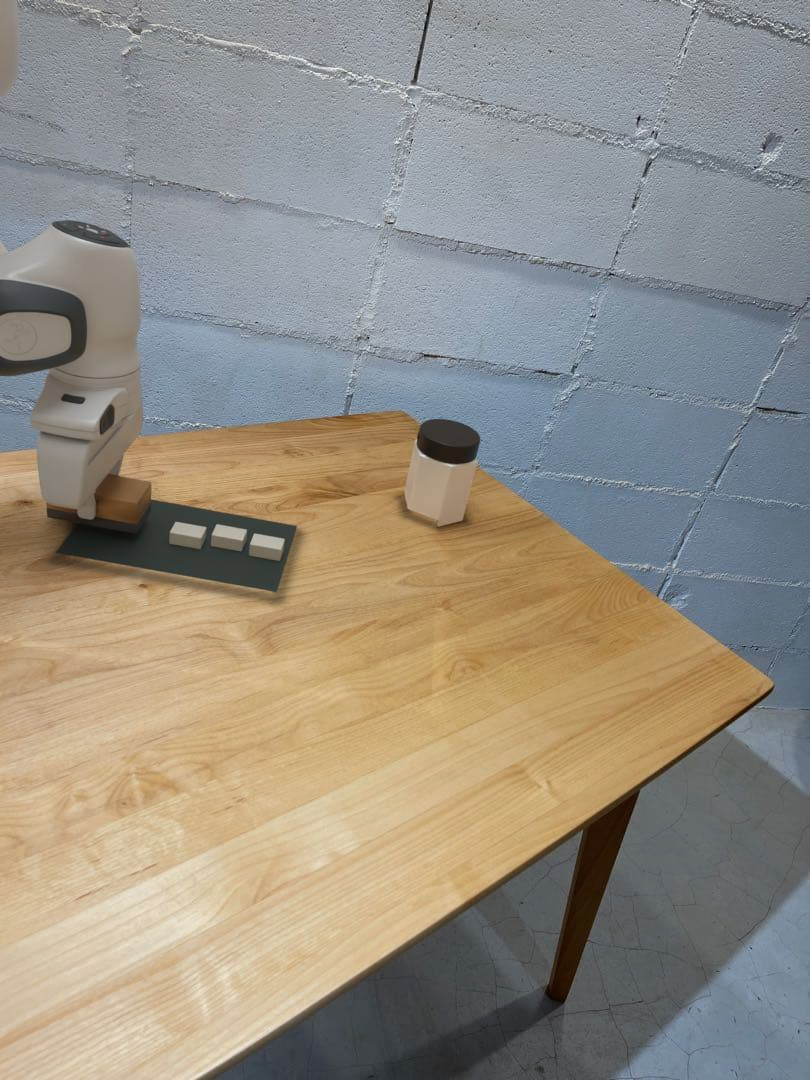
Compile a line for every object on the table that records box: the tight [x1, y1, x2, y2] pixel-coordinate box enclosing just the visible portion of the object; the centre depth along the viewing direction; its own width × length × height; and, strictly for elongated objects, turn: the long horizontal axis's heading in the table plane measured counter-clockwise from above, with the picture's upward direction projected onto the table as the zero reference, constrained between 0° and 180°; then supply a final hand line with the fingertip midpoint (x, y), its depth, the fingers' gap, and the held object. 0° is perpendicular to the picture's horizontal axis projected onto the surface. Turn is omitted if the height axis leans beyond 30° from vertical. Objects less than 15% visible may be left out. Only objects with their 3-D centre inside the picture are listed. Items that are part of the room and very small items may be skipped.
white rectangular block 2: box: [211, 524, 247, 552], centre depth 94 cm, size 4×2×2 cm, turn 87°
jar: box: [403, 418, 481, 528], centre depth 109 cm, size 9×8×12 cm
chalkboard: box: [54, 498, 298, 593], centre depth 94 cm, size 24×14×1 cm, turn 87°
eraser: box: [45, 474, 152, 534], centre depth 92 cm, size 10×5×4 cm, turn 87°
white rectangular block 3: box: [249, 533, 285, 561], centre depth 94 cm, size 4×2×2 cm, turn 87°
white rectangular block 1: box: [169, 522, 206, 549], centre depth 93 cm, size 4×2×2 cm, turn 87°
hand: (99, 501), depth 92 cm, fingers closed on eraser, 5 cm apart
